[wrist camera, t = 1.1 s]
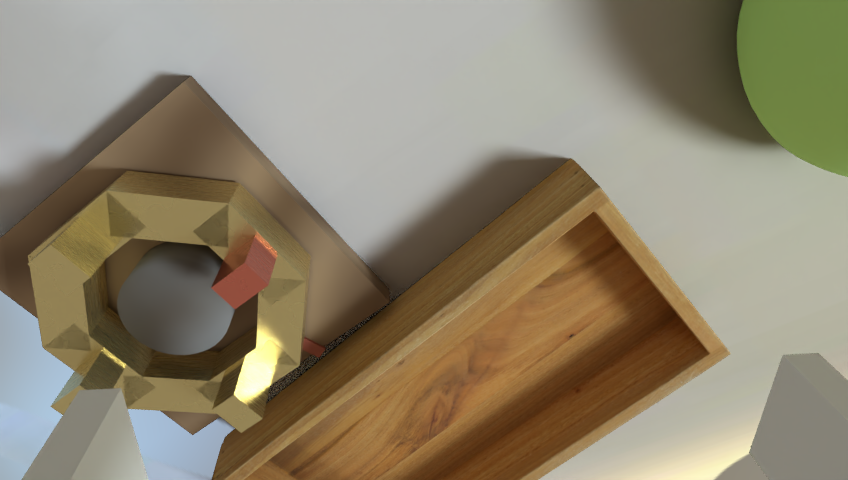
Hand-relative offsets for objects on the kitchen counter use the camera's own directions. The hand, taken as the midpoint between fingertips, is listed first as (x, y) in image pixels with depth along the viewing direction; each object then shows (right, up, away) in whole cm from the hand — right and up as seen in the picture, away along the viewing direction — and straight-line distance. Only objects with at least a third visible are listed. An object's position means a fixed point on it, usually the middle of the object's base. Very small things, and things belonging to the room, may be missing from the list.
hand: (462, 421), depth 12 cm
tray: (+1, -5, +30) cm, 31 cm away
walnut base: (-15, +2, +24) cm, 29 cm away
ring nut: (-15, +1, +23) cm, 27 cm away
